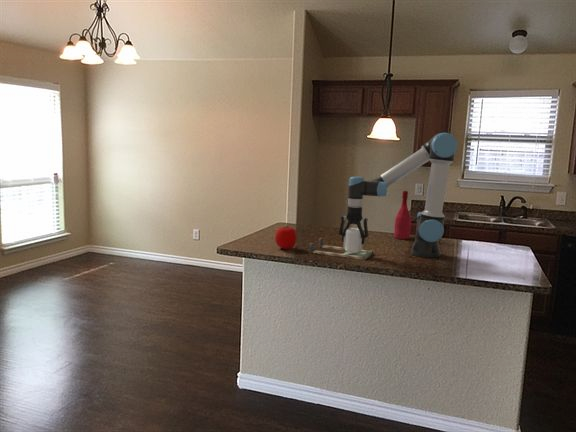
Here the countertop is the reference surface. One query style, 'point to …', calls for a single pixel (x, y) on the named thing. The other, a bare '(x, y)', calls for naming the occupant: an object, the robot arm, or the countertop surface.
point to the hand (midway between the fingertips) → (352, 248)
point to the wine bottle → (403, 220)
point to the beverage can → (352, 240)
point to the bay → (359, 255)
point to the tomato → (285, 237)
